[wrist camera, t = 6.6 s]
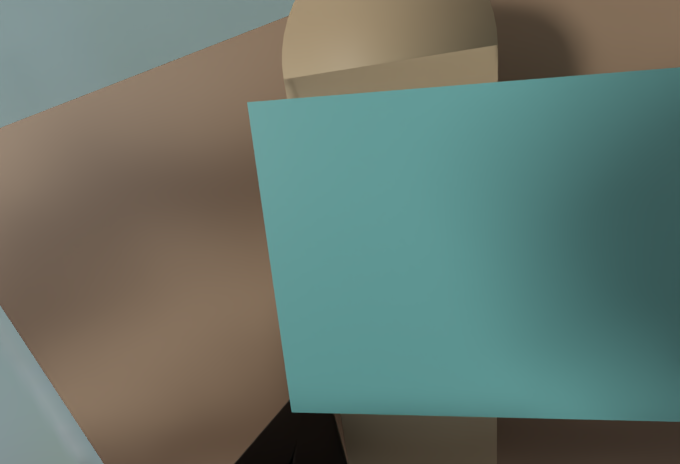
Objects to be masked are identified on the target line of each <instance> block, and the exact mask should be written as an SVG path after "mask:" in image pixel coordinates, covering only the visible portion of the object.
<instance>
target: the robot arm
mask: <svg viewBox="0 0 680 464" xmlns="http://www.w3.org/2000/svg"><path fill="white" fill-rule="evenodd" d="M234 464H348V462H347V459H346V455H345V452H344V448H343V444H342V441H341V437H340V433H339V430H338V426H337V423H336V419H335V415H334V413H298V412H291V405H290V399H289V400H288V402H287V403H286V404H285V405H284V406H283V407H282V409H281V410H280V411H279V412H278V413H277V414H276V416H275V417H274V418H273V419H272V420H271V421H270V423H269V424H268V425H267V426H266V427H265V428H264V429H263V431H262V432H261V433H260V434H259V435H258V436H257V438H256V439H255V440H254V441H253V442H252V443H251V445H250V446H249V447H248V448H247V449H246V450H245V452H244V453H243V454H242V455H241V456H240V457H239V458H238V460H237V461H236V462H235V463H234Z"/></svg>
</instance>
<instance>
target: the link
mask: <svg viewBox="0 0 680 464" xmlns="http://www.w3.org/2000/svg"><path fill="white" fill-rule="evenodd" d="M282 69H283V78H284V85H285V90H286V96H287V99H293V98H306V97H318V96H331V95H343V94H355V93H368V92H380V91H393V90H405V89H417V88H430V87H442V86H454V85H467V84H479V83H492V82H498V40H497V27H496V22H495V17H494V12H493V9H492V6H491V3H490V0H295V2H294V4H293V6H292V9H291V12H290V14H289V17H288V20H287V24H286V28H285V32H284V38H283V46H282ZM341 420H342V426H343V431H344V437H345V443H346V449H347V455H348V461H349V464H497V417H462V416H421V415H380V414H341Z"/></svg>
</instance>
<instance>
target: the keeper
mask: <svg viewBox="0 0 680 464" xmlns="http://www.w3.org/2000/svg"><path fill="white" fill-rule="evenodd" d="M247 105H248V112H249V119H250V126H251V133H252V140H253V147H254V154H255V161H256V168H257V175H258V182H259V189H260V196H261V203H262V210H263V217H264V224H265V231H266V238H267V245H268V252H269V259H270V265H271V272H272V279H273V286H274V293H275V300H276V307H277V314H278V321H279V328H280V335H281V342H282V349H283V356H284V363H285V370H286V377H287V384H288V391H289V398H290V405H291V412H298V413H339V414H380V415H421V416H462V417H503V418H544V419H585V420H626V421H667V422H680V67H677V68H665V69H653V70H640V71H628V72H616V73H603V74H591V75H578V76H566V77H554V78H541V79H529V80H516V81H504V82H492V83H479V84H467V85H454V86H442V87H430V88H417V89H405V90H393V91H380V92H368V93H355V94H343V95H331V96H318V97H306V98H293V99H281V100H269V101H256V102H247Z"/></svg>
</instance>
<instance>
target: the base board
mask: <svg viewBox="0 0 680 464" xmlns="http://www.w3.org/2000/svg"><path fill="white" fill-rule="evenodd" d="M490 3H491V6H492V9H493V12H494V17H495V22H496V27H497V40H498V82H504V81H516V80H529V79H541V78H554V77H566V76H578V75H591V74H603V73H616V72H628V71H640V70H653V69H665V68H677V67H680V0H490ZM288 17H289V16H287V17H285V18H282V19H279V20H277V21H274V22H272V23H269V24H266V25H264V26H261V27H259V28H256V29H254V30H251V31H248V32H246V33H243V34H241V35H238V36H236V37H233V38H230V39H228V40H225V41H223V42H220V43H218V44H215V45H212V46H210V47H207V48H205V49H202V50H200V51H197V52H194V53H192V54H189V55H187V56H184V57H182V58H179V59H176V60H174V61H171V62H169V63H166V64H164V65H161V66H158V67H156V68H153V69H151V70H148V71H146V72H143V73H140V74H138V75H135V76H133V77H130V78H128V79H125V80H122V81H120V82H117V83H115V84H112V85H110V86H107V87H104V88H102V89H99V90H97V91H94V92H92V93H89V94H86V95H84V96H81V97H79V98H76V99H74V100H71V101H68V102H66V103H63V104H61V105H58V106H56V107H53V108H50V109H48V110H45V111H43V112H40V113H38V114H35V115H32V116H30V117H27V118H25V119H22V120H20V121H17V122H14V123H12V124H9V125H7V126H4V127H2V128H0V306H1V307H2V309H3V310H4V312H5V313H6V315H7V316H8V318H9V319H10V321H11V322H12V324H13V325H14V327H15V328H16V330H17V332H18V333H19V335H20V336H21V338H22V339H23V341H24V342H25V344H26V345H27V347H28V348H29V350H30V351H31V353H32V354H33V356H34V358H35V359H36V361H37V362H38V364H39V365H40V367H41V368H42V370H43V371H44V373H45V374H46V376H47V377H48V379H49V380H50V382H51V384H52V385H53V387H54V388H55V390H56V391H57V393H58V394H59V396H60V397H61V399H62V400H63V402H64V403H65V405H66V406H67V408H68V410H69V411H70V413H71V414H72V416H73V417H74V419H75V420H76V422H77V423H78V425H79V426H80V428H81V429H82V431H83V432H84V434H85V436H86V437H87V439H88V440H89V442H90V443H91V445H92V446H93V448H94V449H95V451H96V452H97V454H98V455H99V457H100V458H101V460H102V462H103V463H104V464H234V463H235V462H236V461H237V460H238V458H239V457H240V456H241V455H242V454H243V453H244V452H245V450H246V449H247V448H248V447H249V446H250V445H251V443H252V442H253V441H254V440H255V439H256V438H257V436H258V435H259V434H260V433H261V432H262V431H263V429H264V428H265V427H266V426H267V425H268V424H269V423H270V421H271V420H272V419H273V418H274V417H275V416H276V414H277V413H278V412H279V411H280V410H281V409H282V407H283V406H284V405H285V404H286V403H287V402H288V400H289V399H290V398H289V391H288V384H287V377H286V370H285V363H284V356H283V349H282V342H281V335H280V328H279V321H278V314H277V307H276V300H275V293H274V286H273V279H272V272H271V265H270V259H269V252H268V245H267V238H266V231H265V224H264V217H263V210H262V203H261V196H260V189H259V182H258V175H257V168H256V161H255V154H254V147H253V140H252V133H251V126H250V119H249V112H248V105H247V102H256V101H269V100H281V99H287V96H286V90H285V85H284V78H283V69H282V46H283V38H284V32H285V28H286V24H287V20H288ZM334 415H335V419H336V423H337V426H338V430H339V433H340V437H341V441H342V444H343V448H344V452H345V455H346V459H347V462H348V464H349V461H348V455H347V449H346V443H345V437H344V431H343V426H342V420H341V414H339V413H334ZM497 464H680V422H667V421H626V420H585V419H544V418H503V417H497Z"/></svg>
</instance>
